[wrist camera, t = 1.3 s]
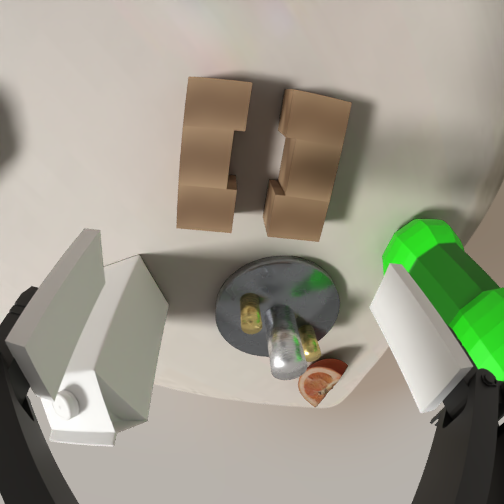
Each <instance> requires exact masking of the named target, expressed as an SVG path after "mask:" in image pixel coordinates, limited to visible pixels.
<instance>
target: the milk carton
mask: <svg viewBox="0 0 504 504" xmlns="http://www.w3.org/2000/svg"><path fill="white" fill-rule="evenodd" d="M104 274H105V282H106V283H105V285H104V287H103V289H102V291H101V293H100V295H99V297H98V299H97V301H96V303H95V305H94V307H93V309H92V312H91V314H90V316H89V318H88V320H87V322H86V325H85V327H84V329H83V331H82V333H81V336H80V338H79V340H78V343H77V345H76V347H75V350H74V352H73V354H72V357H71V359H70V362H69V364H68V367H67V369H66V372H65V374H64V377H63V380H62V382H61V385H60V388H59V390H58V393H57V396H56V399H55V402H53V401H50V400H47V399H44V398H41V401H42V404H43V406H44V409H45V412H46V415H47V418H48V421H49V423H50V426H51V428H52V432H51V435H50V439H49V440H50V441H53V442H62V443H71V444H83V445H96V446H114V445H115V440H116V434H117V433H118V432H121V431H124V430H126V429H129V428H131V427H134V426H136V425H139V424H141V423H144V422H146V421H148V414H149V408H150V401H151V395H152V389H153V383H154V378H155V372H156V366H157V361H158V356H159V350H160V345H161V340H162V335H163V330H164V326H165V321H166V316H167V311H168V307H169V304H168V303H167V301H166V300H165V298H164V296H163V295H162V293H161V291H160V290H159V288H158V286H157V284H156V283H155V281H154V279H153V278H152V276H151V274H150V272H149V271H148V269H147V267H146V265H145V264H144V262H143V260H142V258H141V257H140V255H136V256H133V257H130V258H128V259H125V260H122V261H119V262H116V263H114V264H111V265H108V266H105V267H104Z"/></svg>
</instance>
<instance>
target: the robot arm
mask: <svg viewBox="0 0 504 504" xmlns="http://www.w3.org/2000/svg"><path fill="white" fill-rule="evenodd" d="M105 283H106V282H105V274H104V266H103V257H102V246H101V234H100V230H94V229H84V230H83V231H82V232H81V233H80V235H79V236H78V237H77V238H76V240H75V241H74V242H73V243H72V244H71V246H70V247H69V248H68V249H67V251H66V252H65V253H64V255H63V256H62V257H61V258H60V260H59V261H58V262H57V264H56V265H55V266H54V268H53V269H52V270H51V272H50V273H49V274H48V276H47V277H46V278H45V280H44V281H43V283H42V284H41V285H40V287H39V288H37V287H32V286H31V287H30V288H29V289H27V290H26V291H25V292H23V293H22V294H21V295H20V297H19V298H18V299H17V301H16V302H15V305H13V307H12V308H11V309H10V311H9V313H8V314H7V315H6V317H5V318H4V320H3V322H2V323H1V325H0V493H1V495H2V498H3V500H4V502H5V504H79V503H78V502H77V500H76V498H75V496H74V495H73V493H72V491H71V490H70V488H69V486H68V484H67V483H66V481H65V479H64V477H63V475H62V473H61V472H60V470H59V468H58V466H57V464H56V462H55V460H54V458H53V456H52V454H51V451H50V449H49V447H48V445H47V443H46V440H45V438H44V436H43V433H42V431H41V429H40V426H39V424H38V421H37V419H36V416H35V413H34V411H33V408H32V405H31V402H30V400H29V398H28V396H27V392H28V390H29V388H30V387H31V389H32V390H33V392H34V393H35V395H36V396H38V397H41V398H44V399H47V400H50V401H53V402H55V399H56V396H57V393H58V390H59V388H60V385H61V382H62V380H63V377H64V374H65V372H66V369H67V367H68V364H69V362H70V359H71V357H72V354H73V352H74V350H75V347H76V345H77V343H78V340H79V338H80V336H81V333H82V331H83V329H84V327H85V325H86V322H87V320H88V318H89V316H90V314H91V312H92V309H93V307H94V305H95V303H96V301H97V299H98V297H99V295H100V293H101V291H102V289H103V287H104V285H105ZM369 308H370V310H371V311H372V313H373V315H374V317H375V319H376V321H377V323H378V325H379V327H380V329H381V331H382V333H383V335H384V337H385V339H386V340H387V342H388V344H389V346H390V349H391V350H392V352H393V355H394V357H395V359H396V361H397V363H398V365H399V367H400V369H401V371H402V373H403V375H404V378H405V380H406V382H407V384H408V386H409V388H410V391H411V393H412V395H413V397H414V400H415V402H416V404H417V406H418V408H419V411H420V413H425V412H429V411H433V410H434V409H435V408H436V407H437V406H438V405H439V404H440V403H441V402H442V401H443V403H444V405H445V407H444V408H443V409H442V410H441V411H440V412H439V413H438V414H437V415H436V416H435V417H434V418H433V419H432V420H431V422H430V423H431V424H432V423H433V422H434V421H435V420H436V419H439V420H438V422H437V423H436V424H435V426H437V428H436V432H435V436H434V440H433V443H432V447H431V450H430V453H429V457H428V460H427V463H426V466H425V469H424V472H423V475H422V478H421V481H420V483H419V486H418V489H417V491H416V494H415V496H414V499H413V501H412V504H504V423H503V424H502V425H500V426H499V424H498V421H499V420H500V419H501V418H502V417H503V416H504V381H498V380H497V379H496V377H495V376H494V375H493V374H492V372H490V371H489V370H487V369H484V368H481V369H478V368H477V366H476V365H475V363H474V362H473V360H472V358H471V357H470V355H469V354H468V352H467V350H466V349H465V347H464V346H462V343H461V341H460V340H459V339H458V337H457V335H456V334H455V332H454V331H453V329H452V328H451V327H450V326H449V325H447V324H446V323H445V322H444V321H443V319H442V318H441V316H440V315H439V313H438V312H437V311H436V309H435V308H434V306H433V305H432V304H431V302H430V301H429V299H428V298H427V297H426V295H425V294H424V293H423V291H422V290H421V289H420V287H419V286H418V285H417V283H416V282H415V281H414V280H413V278H412V277H411V276H410V274H409V273H408V272H407V271H406V269H405V268H404V267H403V265H401V264H393V263H389V266H388V268H387V270H386V273H385V275H384V277H383V279H382V282H381V284H380V286H379V288H378V290H377V293H376V295H375V297H374V299H373V301H372V303H371V305H370V307H369Z"/></svg>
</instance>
